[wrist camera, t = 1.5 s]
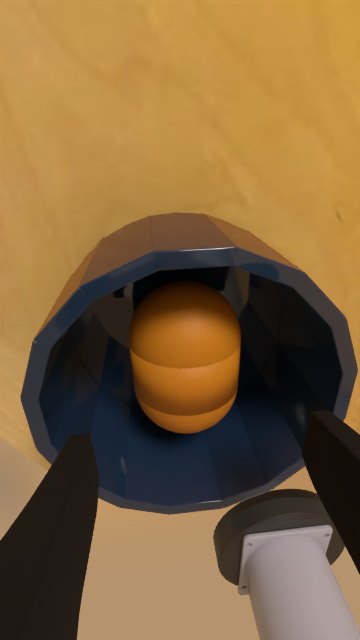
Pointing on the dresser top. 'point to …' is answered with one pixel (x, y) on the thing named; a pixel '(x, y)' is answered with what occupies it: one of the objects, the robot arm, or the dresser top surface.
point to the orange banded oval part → (185, 356)
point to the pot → (254, 368)
